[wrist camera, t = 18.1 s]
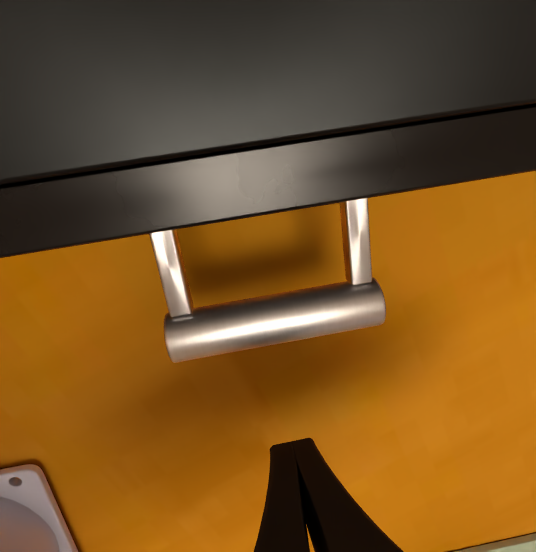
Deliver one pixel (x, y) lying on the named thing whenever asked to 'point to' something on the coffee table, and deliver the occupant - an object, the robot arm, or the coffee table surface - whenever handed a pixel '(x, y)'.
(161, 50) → the cabinet
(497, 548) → the mat
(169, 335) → the drawer
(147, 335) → the coffee table surface
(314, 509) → the robot arm
